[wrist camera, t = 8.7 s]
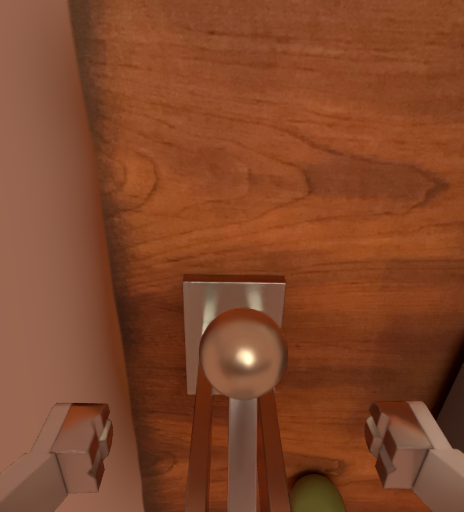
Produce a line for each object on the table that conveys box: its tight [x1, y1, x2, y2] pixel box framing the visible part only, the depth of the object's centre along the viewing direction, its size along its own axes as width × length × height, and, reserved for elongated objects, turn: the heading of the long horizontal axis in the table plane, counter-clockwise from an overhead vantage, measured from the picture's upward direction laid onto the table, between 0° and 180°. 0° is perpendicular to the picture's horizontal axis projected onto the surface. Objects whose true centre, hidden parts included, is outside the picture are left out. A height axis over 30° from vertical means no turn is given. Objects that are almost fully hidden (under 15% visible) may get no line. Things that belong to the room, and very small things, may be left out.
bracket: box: [182, 274, 291, 512], centre depth 22 cm, size 12×8×22 cm, turn 179°
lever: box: [199, 308, 288, 512], centre depth 15 cm, size 15×4×4 cm, turn 179°
